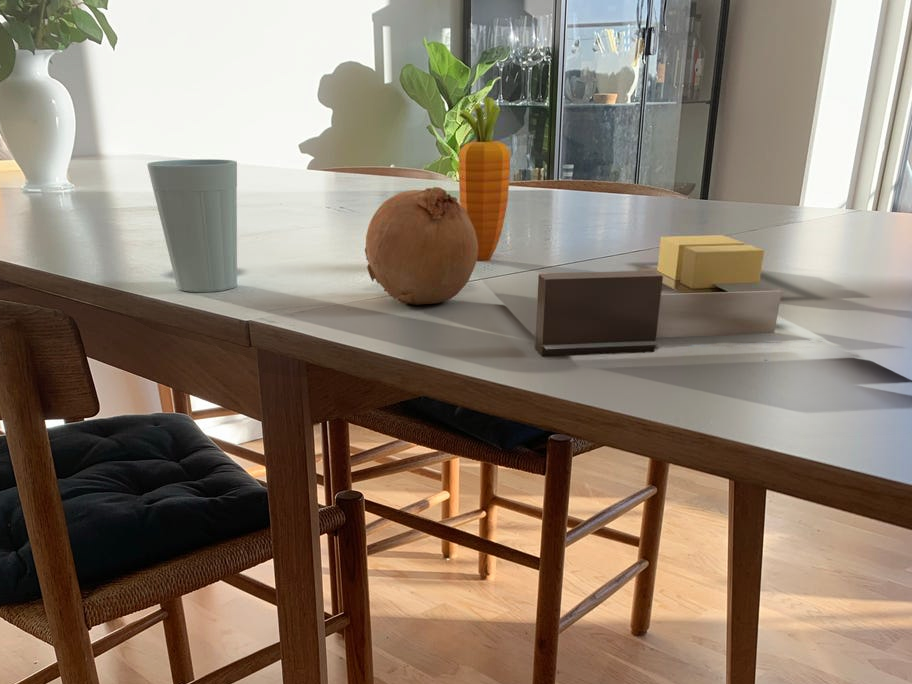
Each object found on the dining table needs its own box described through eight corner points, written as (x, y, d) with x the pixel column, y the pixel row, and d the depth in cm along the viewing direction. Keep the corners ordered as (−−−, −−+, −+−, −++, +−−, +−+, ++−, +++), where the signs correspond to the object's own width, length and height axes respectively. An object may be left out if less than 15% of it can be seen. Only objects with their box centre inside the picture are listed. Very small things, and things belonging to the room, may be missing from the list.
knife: (765, 340, 68) (777, 266, 66) (778, 347, 66) (791, 272, 64) (534, 348, 67) (538, 273, 64) (541, 356, 65) (545, 279, 62)
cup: (175, 279, 91) (159, 158, 86) (254, 279, 91) (243, 158, 86) (156, 295, 85) (137, 165, 79) (241, 294, 85) (228, 165, 79)
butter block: (718, 269, 89) (723, 235, 88) (739, 278, 85) (744, 242, 84) (657, 271, 89) (660, 236, 87) (675, 280, 84) (679, 244, 83)
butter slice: (744, 280, 84) (750, 244, 83) (758, 287, 81) (764, 249, 80) (679, 282, 83) (684, 246, 82) (691, 289, 81) (696, 251, 79)
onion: (459, 342, 81) (501, 235, 74) (352, 316, 78) (385, 202, 71) (452, 281, 87) (490, 177, 80) (352, 255, 84) (382, 144, 77)
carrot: (481, 273, 93) (484, 97, 85) (448, 267, 96) (448, 97, 88) (517, 267, 96) (523, 97, 88) (483, 262, 99) (486, 96, 91)
